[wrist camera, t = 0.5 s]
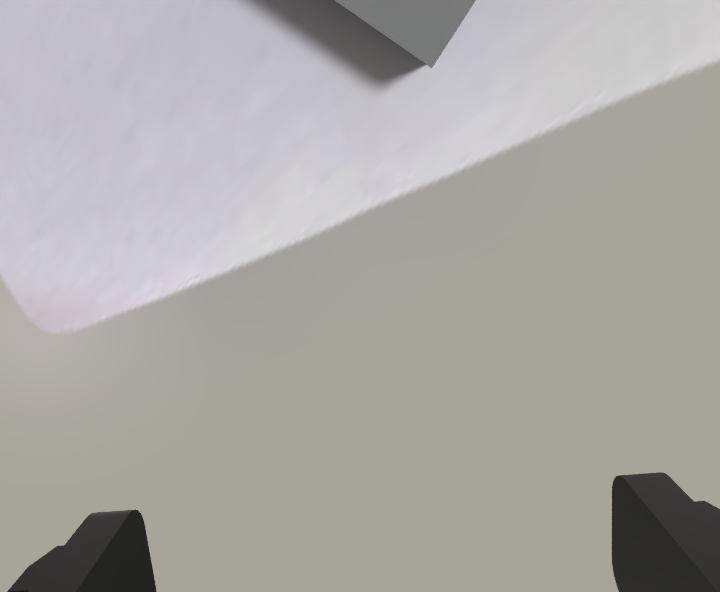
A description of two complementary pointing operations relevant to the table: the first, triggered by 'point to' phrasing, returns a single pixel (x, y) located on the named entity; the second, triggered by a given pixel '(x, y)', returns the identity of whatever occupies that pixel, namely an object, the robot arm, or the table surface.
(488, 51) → the table surface
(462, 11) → the keypad
